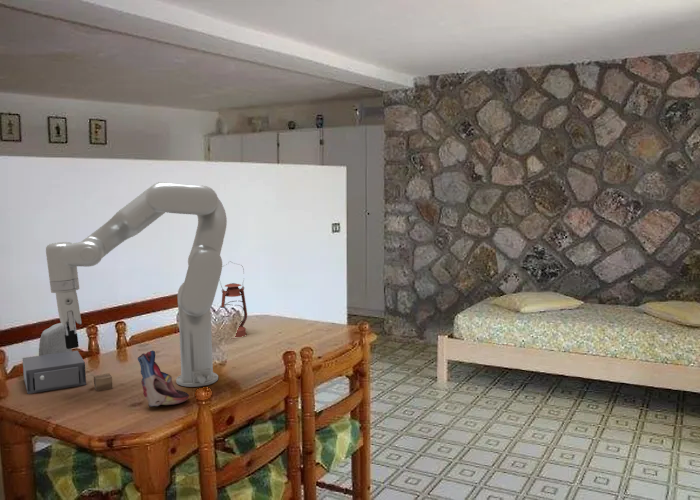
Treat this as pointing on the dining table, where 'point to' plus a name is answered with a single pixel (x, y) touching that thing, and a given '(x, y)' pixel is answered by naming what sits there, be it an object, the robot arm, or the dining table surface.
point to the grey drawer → (56, 378)
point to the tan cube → (103, 382)
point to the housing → (52, 368)
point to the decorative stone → (53, 340)
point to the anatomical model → (158, 383)
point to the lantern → (233, 292)
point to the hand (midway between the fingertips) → (72, 347)
